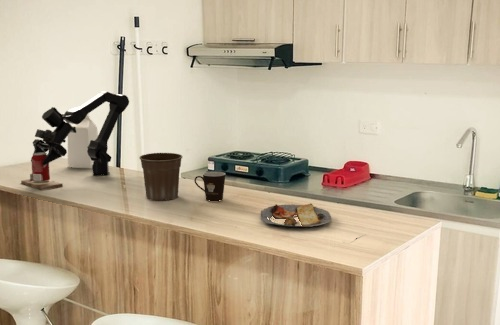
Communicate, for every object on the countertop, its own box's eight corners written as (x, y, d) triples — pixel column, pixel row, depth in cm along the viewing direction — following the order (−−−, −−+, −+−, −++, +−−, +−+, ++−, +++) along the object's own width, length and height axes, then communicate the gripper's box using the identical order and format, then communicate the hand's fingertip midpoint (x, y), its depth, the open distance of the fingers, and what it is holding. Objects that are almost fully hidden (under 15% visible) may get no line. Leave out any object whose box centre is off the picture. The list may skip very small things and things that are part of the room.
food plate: (260, 208, 200) (261, 199, 199) (326, 210, 199) (326, 201, 198) (259, 232, 175) (260, 221, 175) (334, 234, 175) (334, 223, 174)
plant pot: (170, 204, 206) (169, 161, 203) (132, 200, 211) (131, 158, 208) (190, 194, 221) (189, 154, 218) (154, 190, 226) (153, 151, 223)
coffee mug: (230, 199, 213) (230, 173, 211) (213, 203, 207) (213, 177, 205) (209, 194, 221) (209, 169, 219) (193, 198, 215) (192, 172, 213)
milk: (67, 167, 273) (64, 114, 268) (78, 163, 284) (75, 112, 279) (90, 168, 271) (88, 114, 266) (100, 163, 282) (98, 112, 277)
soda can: (41, 183, 230) (39, 155, 228) (29, 182, 233) (27, 154, 231) (53, 180, 236) (51, 152, 234) (41, 179, 239) (39, 151, 237)
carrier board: (21, 183, 238) (20, 173, 237) (41, 180, 244) (40, 170, 244) (42, 190, 226) (41, 179, 225) (62, 186, 232) (62, 176, 232)
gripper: (35, 120, 239) (12, 148, 233) (58, 124, 227) (34, 154, 221) (53, 136, 247) (31, 164, 240) (76, 141, 234) (54, 170, 228)
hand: (37, 163), depth 232 cm, fingers open, 9 cm apart
